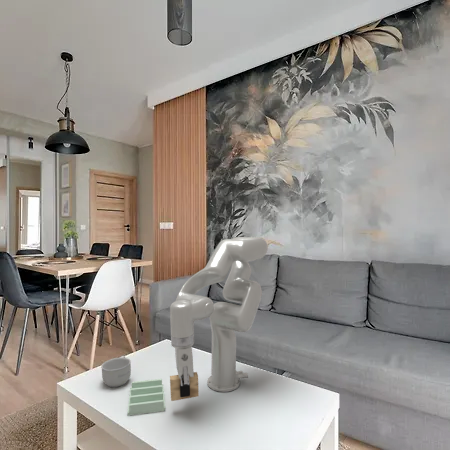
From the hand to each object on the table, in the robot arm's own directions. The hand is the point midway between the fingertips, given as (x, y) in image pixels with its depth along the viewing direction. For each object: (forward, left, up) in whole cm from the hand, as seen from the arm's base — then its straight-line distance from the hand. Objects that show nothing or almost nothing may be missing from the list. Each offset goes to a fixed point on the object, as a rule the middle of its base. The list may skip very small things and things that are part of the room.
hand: (184, 392), depth 103 cm
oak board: (0, 0, -1) cm, 1 cm away
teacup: (+23, -25, -6) cm, 35 cm away
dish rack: (+12, -9, -6) cm, 17 cm away
